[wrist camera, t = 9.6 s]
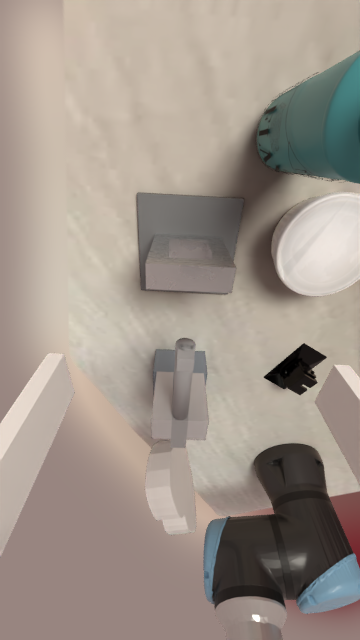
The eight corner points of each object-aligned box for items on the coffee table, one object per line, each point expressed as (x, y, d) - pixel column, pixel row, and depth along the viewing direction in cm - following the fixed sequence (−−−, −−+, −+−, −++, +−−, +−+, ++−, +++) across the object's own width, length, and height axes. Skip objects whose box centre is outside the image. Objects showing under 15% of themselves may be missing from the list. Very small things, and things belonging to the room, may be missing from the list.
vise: (199, 392, 47) (205, 473, 35) (156, 390, 46) (147, 471, 35) (212, 291, 35) (228, 360, 23) (155, 288, 35) (142, 357, 23)
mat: (227, 292, 35) (227, 294, 35) (141, 288, 35) (141, 290, 34) (243, 198, 29) (244, 199, 28) (137, 192, 28) (137, 193, 28)
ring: (218, 256, 32) (231, 293, 23) (155, 253, 32) (146, 289, 23) (221, 236, 30) (236, 267, 22) (155, 233, 30) (145, 263, 22)
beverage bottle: (248, 102, 24) (401, -19, 7) (320, 82, 23) (677, -103, 7) (252, 178, 28) (361, 214, 11) (315, 163, 27) (537, 177, 10)
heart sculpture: (151, 391, 47) (136, 504, 32) (177, 387, 46) (174, 499, 31) (174, 438, 55) (171, 544, 40) (196, 434, 54) (201, 541, 39)
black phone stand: (280, 393, 48) (288, 413, 44) (251, 377, 45) (258, 398, 42) (335, 351, 42) (350, 371, 38) (305, 332, 40) (318, 350, 36)
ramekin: (269, 190, 28) (285, 197, 24) (370, 183, 28) (406, 188, 23) (258, 281, 34) (269, 300, 30) (341, 276, 34) (365, 294, 30)
